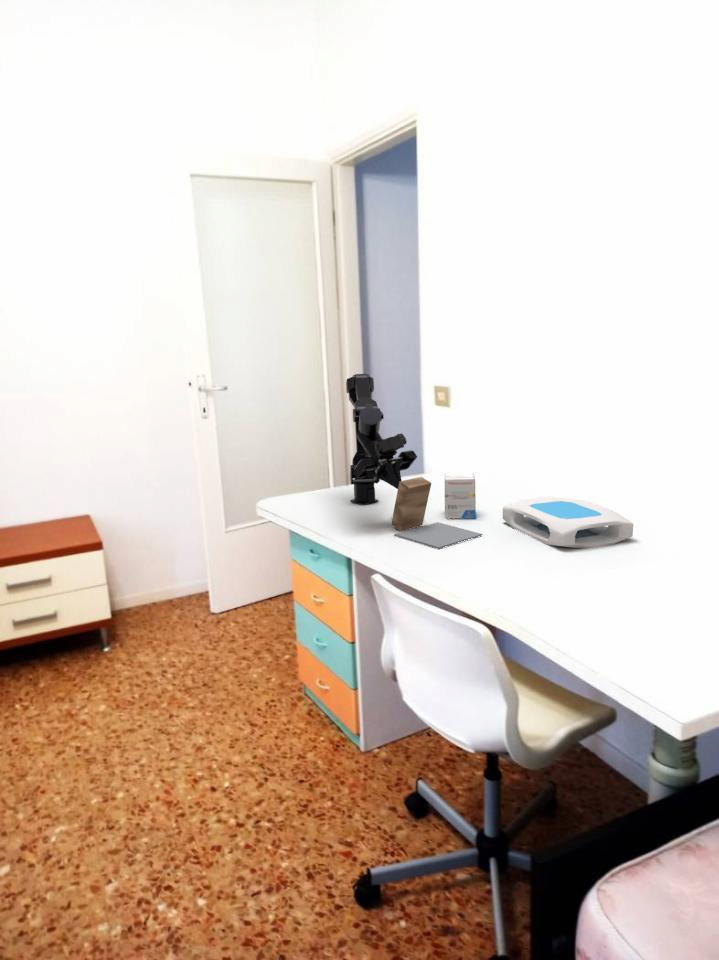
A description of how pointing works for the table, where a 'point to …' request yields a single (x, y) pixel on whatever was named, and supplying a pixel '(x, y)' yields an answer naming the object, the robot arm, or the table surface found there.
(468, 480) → the ink box
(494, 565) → the table surface
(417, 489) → the walnut domino block
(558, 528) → the white blue plastic platform
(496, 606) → the table surface
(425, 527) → the mat
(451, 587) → the table surface
